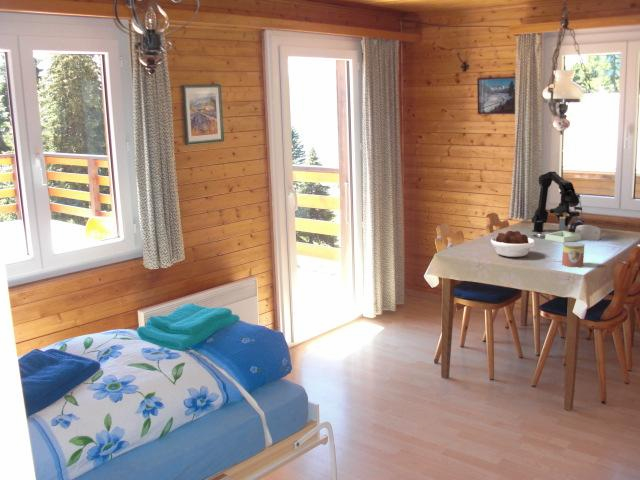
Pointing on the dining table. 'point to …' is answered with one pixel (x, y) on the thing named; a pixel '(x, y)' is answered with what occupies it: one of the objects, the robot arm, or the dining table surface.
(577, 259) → the canned food
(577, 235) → the bin
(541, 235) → the stud
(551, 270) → the dining table surface
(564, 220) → the strut
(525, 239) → the bowl of brown food
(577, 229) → the white arched block
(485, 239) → the dining table surface
